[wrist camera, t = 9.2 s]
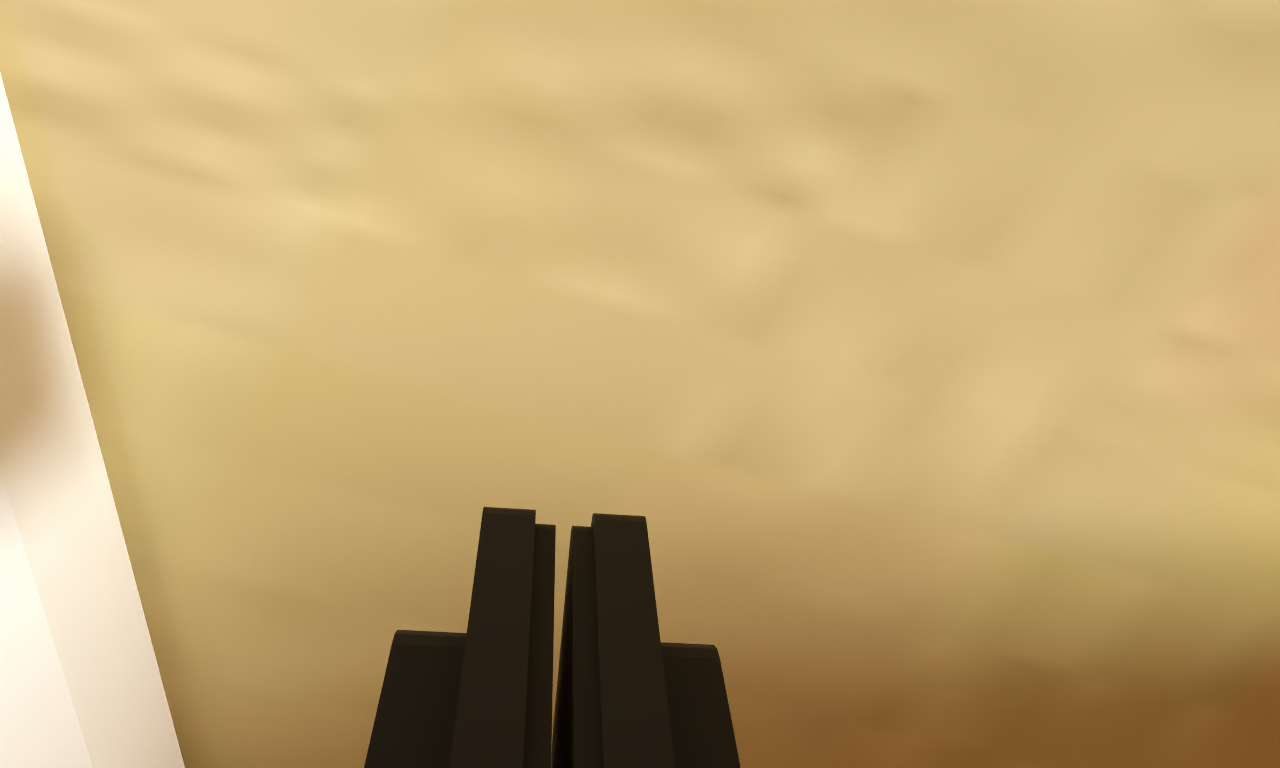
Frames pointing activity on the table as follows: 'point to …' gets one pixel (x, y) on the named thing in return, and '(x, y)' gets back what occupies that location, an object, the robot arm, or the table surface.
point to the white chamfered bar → (61, 535)
